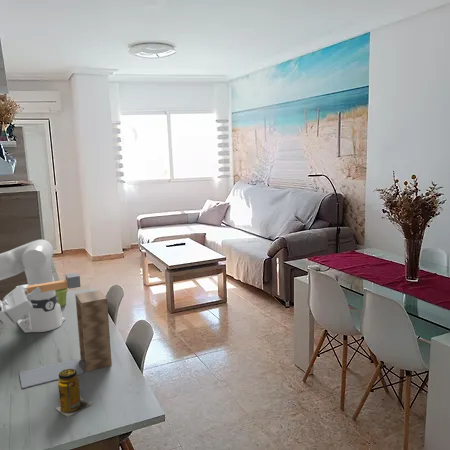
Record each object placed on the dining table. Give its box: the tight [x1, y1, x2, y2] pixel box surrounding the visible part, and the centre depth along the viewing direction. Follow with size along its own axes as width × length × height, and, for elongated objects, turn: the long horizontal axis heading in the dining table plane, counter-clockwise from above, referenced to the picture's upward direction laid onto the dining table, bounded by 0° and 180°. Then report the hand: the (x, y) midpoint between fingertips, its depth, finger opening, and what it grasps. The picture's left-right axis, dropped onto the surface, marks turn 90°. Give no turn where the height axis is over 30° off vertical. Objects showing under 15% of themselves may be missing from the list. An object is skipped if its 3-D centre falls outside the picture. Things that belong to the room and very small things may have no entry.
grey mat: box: [18, 358, 84, 390], centre depth 159 cm, size 20×12×1 cm, turn 119°
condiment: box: [54, 369, 92, 418], centre depth 138 cm, size 7×8×12 cm
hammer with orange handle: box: [27, 272, 82, 293], centre depth 155 cm, size 17×5×4 cm, turn 119°
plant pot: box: [55, 288, 69, 308], centre depth 227 cm, size 9×9×9 cm
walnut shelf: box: [74, 289, 113, 372], centre depth 165 cm, size 9×11×26 cm
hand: (39, 286), depth 153 cm, fingers closed on hammer with orange handle, 2 cm apart
